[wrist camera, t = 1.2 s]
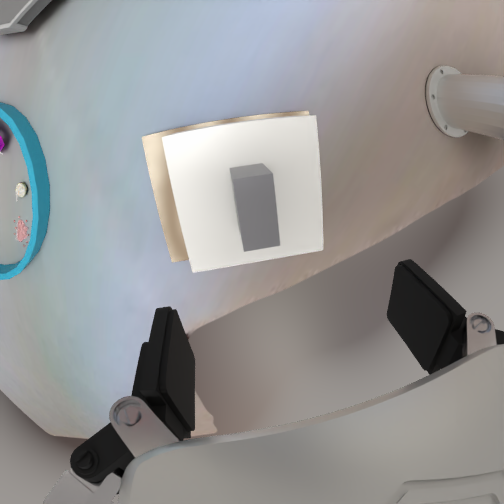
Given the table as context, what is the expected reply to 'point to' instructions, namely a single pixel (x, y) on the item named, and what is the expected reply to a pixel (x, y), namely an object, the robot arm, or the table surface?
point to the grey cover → (247, 190)
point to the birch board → (163, 183)
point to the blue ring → (38, 187)
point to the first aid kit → (19, 14)
